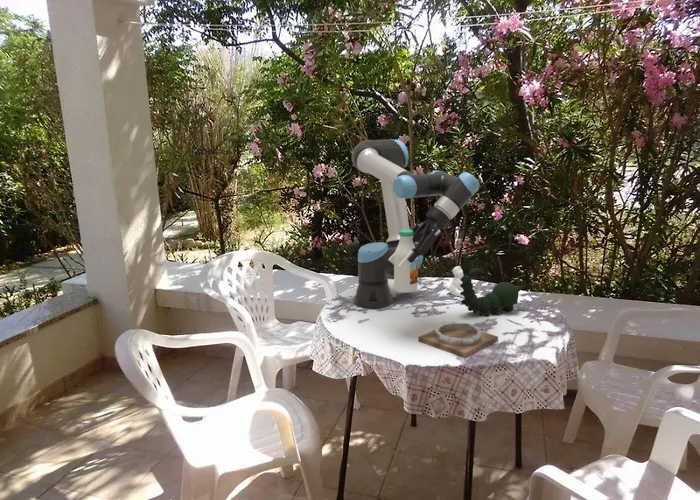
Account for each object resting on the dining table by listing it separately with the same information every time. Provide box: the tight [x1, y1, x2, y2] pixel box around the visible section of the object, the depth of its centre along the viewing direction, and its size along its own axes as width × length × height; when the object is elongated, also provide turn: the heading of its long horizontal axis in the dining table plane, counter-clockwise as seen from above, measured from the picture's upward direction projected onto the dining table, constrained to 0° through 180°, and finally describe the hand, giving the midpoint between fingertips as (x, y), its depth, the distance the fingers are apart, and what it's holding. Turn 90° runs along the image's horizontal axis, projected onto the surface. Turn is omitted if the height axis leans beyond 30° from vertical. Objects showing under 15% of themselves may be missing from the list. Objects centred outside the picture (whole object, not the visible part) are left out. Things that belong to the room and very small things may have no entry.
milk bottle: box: [393, 228, 419, 293], centre depth 171 cm, size 8×8×20 cm
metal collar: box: [434, 322, 483, 346], centre depth 168 cm, size 14×14×2 cm
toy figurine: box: [460, 267, 524, 317], centre depth 192 cm, size 9×19×25 cm
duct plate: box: [417, 329, 499, 358], centre depth 168 cm, size 18×18×2 cm
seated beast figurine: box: [448, 265, 465, 299], centre depth 215 cm, size 10×9×12 cm
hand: (396, 265), depth 170 cm, fingers closed on milk bottle, 8 cm apart
